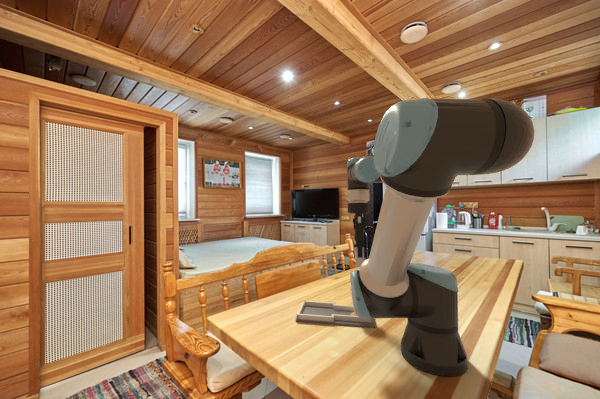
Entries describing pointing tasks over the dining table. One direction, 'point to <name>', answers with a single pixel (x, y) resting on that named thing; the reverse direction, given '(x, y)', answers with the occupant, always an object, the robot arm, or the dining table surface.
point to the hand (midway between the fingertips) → (359, 262)
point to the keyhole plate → (331, 314)
